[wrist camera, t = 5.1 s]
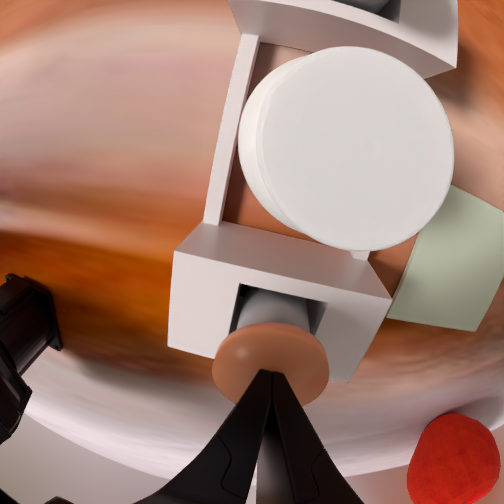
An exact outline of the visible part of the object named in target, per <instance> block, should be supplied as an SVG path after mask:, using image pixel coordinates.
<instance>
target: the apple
mask: <svg viewBox="0 0 504 504" xmlns="http://www.w3.org/2000/svg"><path fill="white" fill-rule="evenodd" d="M500 466H501V465H500V454H499V451H498V448H497V445H496V442H495V439H494V437H493V435H492V434H491V432H490V431H489V429H487V428H486V427H485V426H484V425H482V424H481V423H480V422H479V421H476V420H474V419H472V418H469V417H467V416H464V415H461V414H458V413H450V414H445V415H442V416H439V417H438V418H436V419H435V420H433V421H432V422H431V423H430V424H429V425H428V426H427V427H426V429H425V430H424V431H423V433H422V434H421V436H420V439H419V442H418V444H417V447H416V449H415V451H414V454H413V456H412V459H411V461H410V464H409V468H408V472H407V489H408V492H409V495H410V498H411V500H412V501H413V503H414V504H472V503H474V502H476V501H477V500H479V499H480V498H482V497H483V496H485V495H486V494H487V493H489V492H490V491H491V490H492V488H493V487H494V485H495V483H496V481H497V480H498V477H499V472H500Z"/></svg>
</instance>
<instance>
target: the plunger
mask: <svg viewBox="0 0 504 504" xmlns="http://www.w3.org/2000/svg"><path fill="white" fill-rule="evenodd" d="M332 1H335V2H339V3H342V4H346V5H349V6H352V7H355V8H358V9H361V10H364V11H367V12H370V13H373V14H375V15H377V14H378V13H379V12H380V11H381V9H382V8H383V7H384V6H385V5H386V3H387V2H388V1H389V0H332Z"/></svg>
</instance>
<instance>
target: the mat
mask: <svg viewBox="0 0 504 504" xmlns="http://www.w3.org/2000/svg"><path fill="white" fill-rule="evenodd" d="M503 277H504V212H503V211H501V210H499V209H497V208H496V207H494V206H492V205H490V204H488V203H487V202H485V201H483V200H481V199H479V198H477V197H475V196H473V195H471V194H469V193H467V192H465V191H463V190H461V189H459V188H457V187H455V186H453V185H451V184H450V187H449V191H448V194H447V196H446V198H445V200H444V202H443V204H442V205H441V207H440V209H439V210H438V212H437V213H436V215H435V216H434V217H433V218H432V220H431V221H430V222H429V223H428V224H427V225H426V226H425V227H424V228H423V229H422V230H420V231H419V234H418V236H417V239H416V242H415V245H414V247H413V250H412V253H411V255H410V258H409V260H408V263H407V265H406V268H405V270H404V273H403V275H402V277H401V280H400V282H399V284H398V287H397V289H396V291H395V293H394V295H393V298H392V302H391V305H390V307H389V309H388V311H387V313H386V315H385V316H386V318H391V319H397V320H403V321H408V322H414V323H420V324H427V325H433V326H439V327H446V328H452V329H459V330H466V331H473V332H476V330H477V328H478V326H479V325H480V323H481V321H482V319H483V317H484V316H485V314H486V312H487V310H488V308H489V306H490V304H491V302H492V300H493V298H494V296H495V294H496V292H497V290H498V288H499V286H500V283H501V281H502V279H503Z"/></svg>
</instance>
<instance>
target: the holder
mask: <svg viewBox="0 0 504 504" xmlns="http://www.w3.org/2000/svg"><path fill="white" fill-rule="evenodd" d="M227 1H228V4H229V6H230V8H231V11H232V13H233V16H234V18H235V20H236V23H237V25H238V28H239V30H240V33H241V35H242V37H241V41H240V45H239V49H238V52H237V56H236V60H235V64H234V69H233V73H232V77H231V81H230V85H229V90H228V94H227V98H226V103H225V107H224V112H223V117H222V121H221V126H220V131H219V136H218V141H217V146H216V151H215V156H214V161H213V167H212V172H211V178H210V183H209V189H208V195H207V200H206V206H205V212H204V219H203V221H202V222H201V223H200V224H199V225H198V226H197V227H196V228H195V229H194V230H193V231H192V232H191V233H190V234H189V235H188V236H187V237H186V239H185V240H184V241H183V242H182V243H181V244H180V245H179V246H178V247H177V248H176V249H175V250H174V259H173V269H172V281H171V293H170V307H169V324H168V346H169V347H172V348H175V349H179V350H182V351H186V352H189V353H193V354H197V355H201V356H204V357H208V358H212V359H215V356H216V352H217V349H218V347H219V345H220V344H221V342H222V341H223V340H224V339H225V338H226V337H227V336H228V335H229V334H231V333H232V332H234V331H236V329H237V325H238V321H239V317H240V312H241V308H242V304H243V300H244V297H243V296H239V295H240V291H241V286H242V284H246V285H250V286H254V287H259V288H263V289H268V290H272V291H276V292H281V293H286V294H290V295H295V296H299V297H304V298H306V303H307V310H308V318H309V326H310V333H311V334H312V335H313V336H315V337H316V338H317V339H318V340H319V341H320V342H321V344H322V345H323V347H324V349H325V351H326V354H327V358H328V364H329V371H330V374H329V381H337V382H346V383H348V382H349V380H350V379H351V377H352V376H353V374H354V372H355V371H356V369H357V367H358V365H359V364H360V362H361V360H362V358H363V357H364V355H365V353H366V351H367V350H368V348H369V346H370V344H371V342H372V340H373V339H374V337H375V335H376V333H377V331H378V329H379V327H380V325H381V323H382V321H383V319H384V317H385V315H386V313H387V311H388V309H389V307H390V305H391V302H392V298H391V296H390V295H389V293H388V292H387V290H386V288H385V287H384V285H383V284H382V282H381V280H380V279H379V277H378V276H377V274H376V273H375V271H374V270H373V268H372V267H371V265H370V263H369V262H368V260H367V259H368V256H369V253H370V251H361V252H359V251H347V250H342V249H338V248H335V247H332V246H328V245H324V244H320V243H316V242H311V241H307V240H303V239H299V238H295V237H291V236H286V235H282V234H278V233H274V232H269V231H265V230H261V229H257V228H252V227H248V226H243V225H239V224H235V223H230V222H226V221H222V217H223V211H224V206H225V201H226V195H227V190H228V185H229V180H230V175H231V170H232V165H233V160H234V155H235V150H236V145H237V141H238V132H239V124H240V120H241V116H242V112H243V109H244V107H245V104H246V99H247V95H248V91H249V86H250V82H251V78H252V73H253V69H254V65H255V61H256V57H257V53H258V49H259V45H260V42H265V43H271V44H276V45H281V46H287V47H291V48H296V49H301V50H305V51H309V52H313V53H315V52H318V51H320V50H324V49H327V48H332V47H342V46H353V47H363V48H369V49H373V50H377V51H380V52H382V53H385V54H387V55H390V56H392V57H394V58H396V59H398V60H400V61H401V62H403V63H404V64H406V65H407V66H409V67H410V68H412V69H413V70H414V71H415V72H416V73H417V74H418V75H420V76H421V77H422V78H423V79H426V78H429V77H432V76H435V75H437V74H440V73H443V72H446V71H449V70H452V69H455V68H456V65H457V48H458V8H457V0H389V1H388V2H387V3H386V5H385V6H384V7H383V8H382V9H381V11H380V12H379V13H378V14H377V15H375V14H373V13H370V12H367V11H364V10H361V9H358V8H355V7H352V6H349V5H346V4H342V3H339V2H335V1H332V0H227Z"/></svg>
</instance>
